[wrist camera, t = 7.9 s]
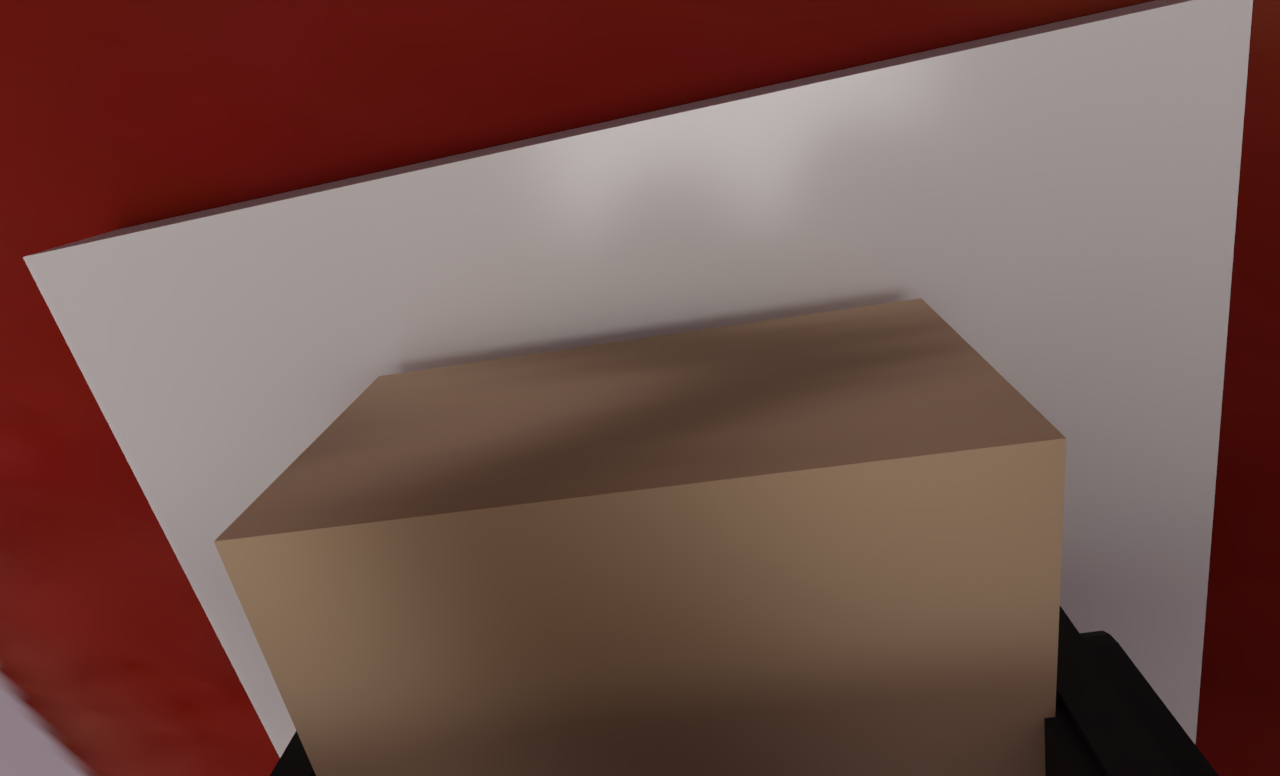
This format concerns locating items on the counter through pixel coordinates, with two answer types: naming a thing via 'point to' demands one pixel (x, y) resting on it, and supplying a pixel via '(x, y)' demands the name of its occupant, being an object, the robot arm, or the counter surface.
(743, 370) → the wooden block
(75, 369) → the counter surface
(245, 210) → the serving board
